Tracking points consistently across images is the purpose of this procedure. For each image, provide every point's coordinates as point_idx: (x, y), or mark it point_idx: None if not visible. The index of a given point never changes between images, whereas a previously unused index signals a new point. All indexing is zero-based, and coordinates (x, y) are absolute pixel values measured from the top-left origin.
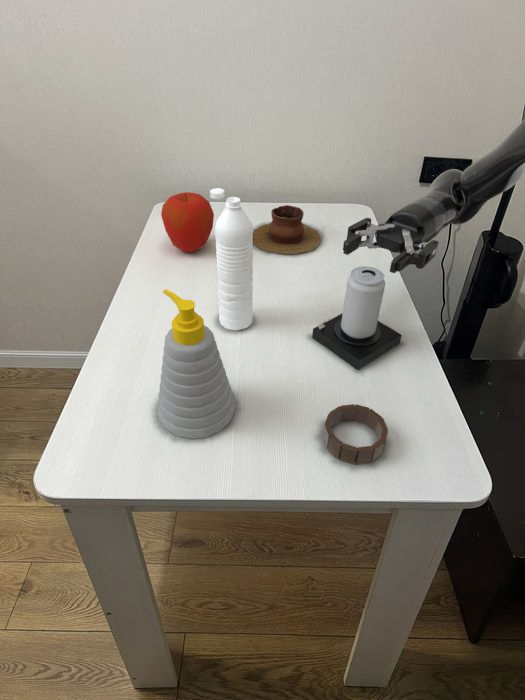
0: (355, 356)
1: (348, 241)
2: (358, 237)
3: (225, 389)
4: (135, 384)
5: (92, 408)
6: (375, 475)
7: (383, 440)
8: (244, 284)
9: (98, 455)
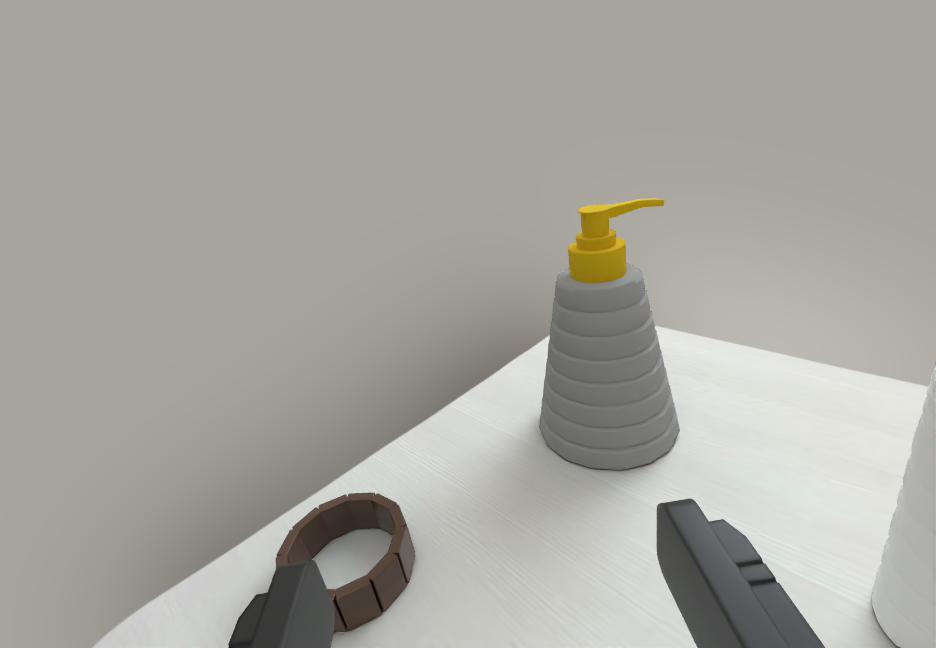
0: None
1: (687, 513)
2: (733, 633)
3: (561, 396)
4: (716, 386)
5: (686, 348)
6: None
7: (280, 555)
8: (921, 484)
9: None
